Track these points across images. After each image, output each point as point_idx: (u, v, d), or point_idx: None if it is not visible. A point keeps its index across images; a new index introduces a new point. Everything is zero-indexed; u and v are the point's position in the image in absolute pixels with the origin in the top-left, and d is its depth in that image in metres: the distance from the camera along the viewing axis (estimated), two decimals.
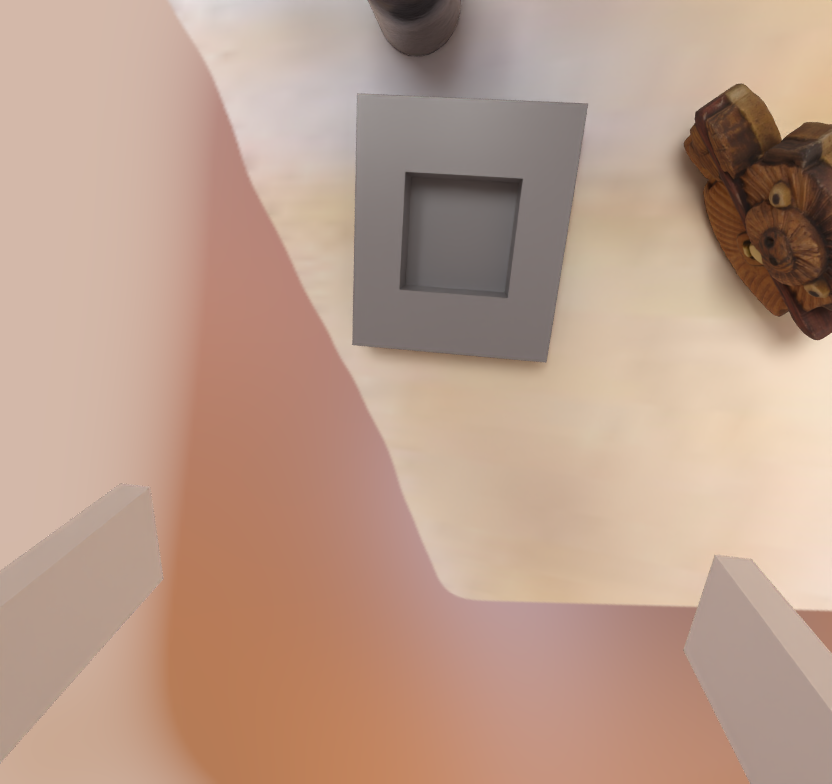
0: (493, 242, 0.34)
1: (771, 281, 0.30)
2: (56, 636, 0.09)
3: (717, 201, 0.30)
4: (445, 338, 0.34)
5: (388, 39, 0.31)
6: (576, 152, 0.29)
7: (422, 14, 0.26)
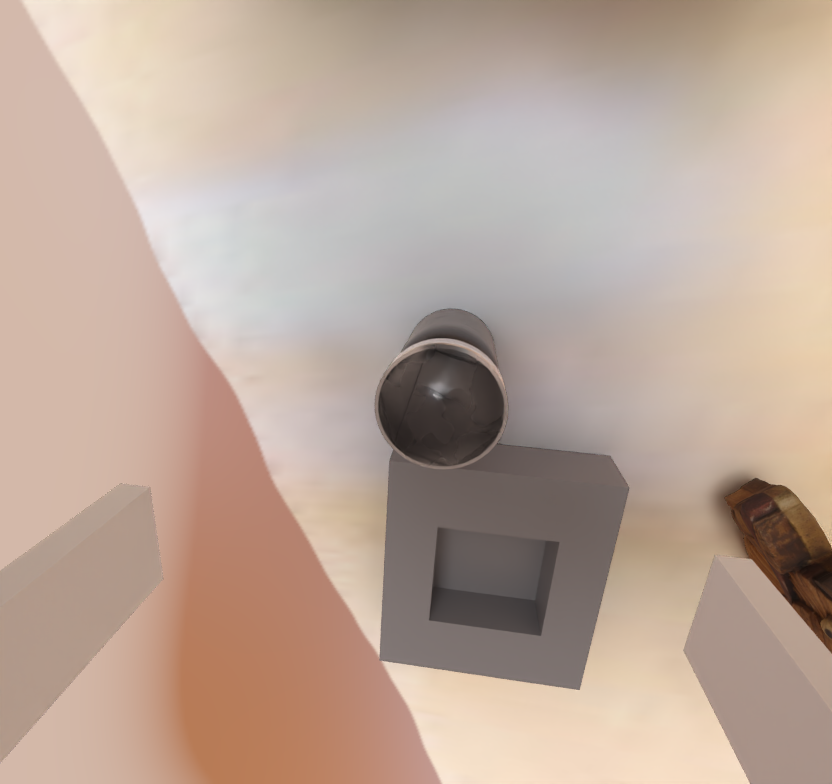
0: (524, 559, 0.33)
1: None
2: (56, 636, 0.09)
3: (759, 560, 0.29)
4: (476, 662, 0.33)
5: None
6: (616, 525, 0.28)
7: None
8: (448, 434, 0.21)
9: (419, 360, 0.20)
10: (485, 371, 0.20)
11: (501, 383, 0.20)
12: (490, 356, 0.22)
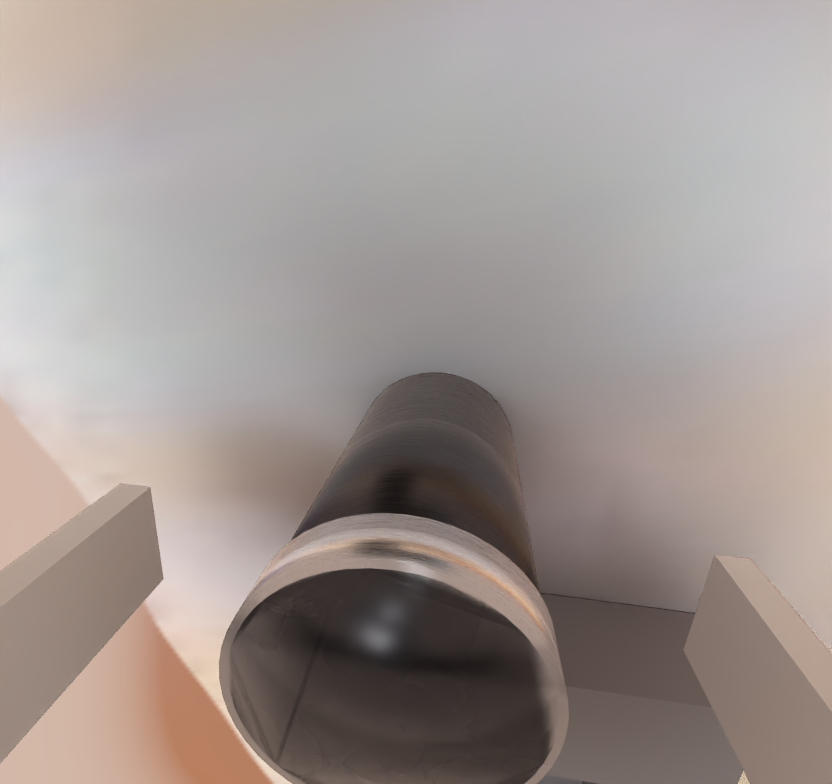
0: None
1: None
2: (56, 636, 0.09)
3: None
4: None
5: None
6: (735, 771, 0.15)
7: None
8: (409, 757, 0.08)
9: (323, 594, 0.07)
10: (508, 631, 0.07)
11: (551, 659, 0.07)
12: (513, 524, 0.10)
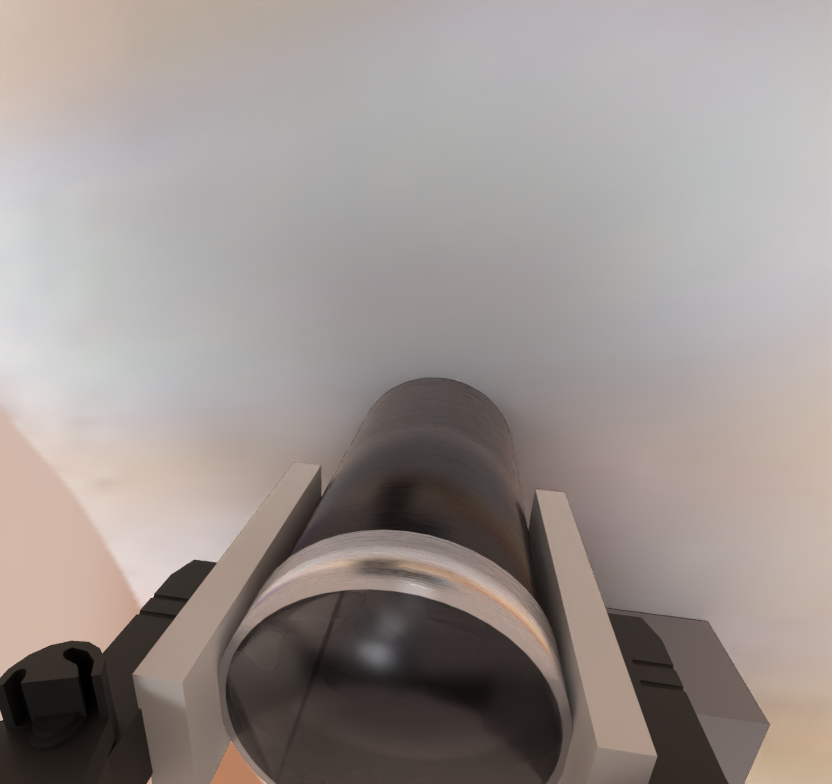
0: None
1: None
2: None
3: None
4: None
5: None
6: (737, 780, 0.15)
7: None
8: (411, 776, 0.08)
9: (323, 615, 0.07)
10: (511, 651, 0.07)
11: (555, 680, 0.07)
12: (514, 536, 0.10)
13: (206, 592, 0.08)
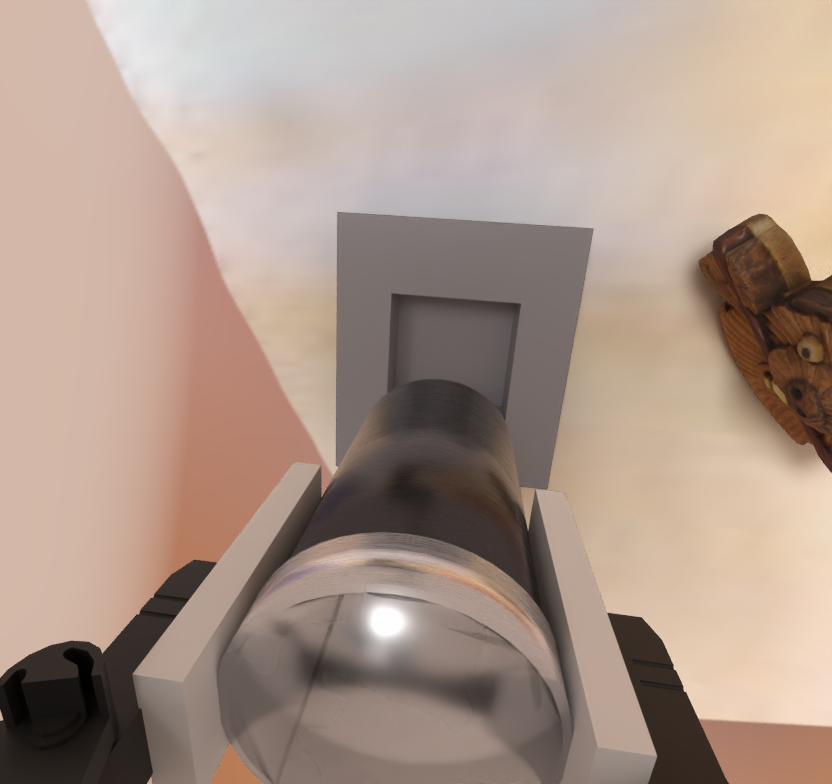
0: (489, 355, 0.31)
1: (795, 415, 0.27)
2: None
3: (736, 326, 0.27)
4: None
5: None
6: (580, 278, 0.26)
7: None
8: (411, 779, 0.08)
9: (322, 617, 0.07)
10: (510, 654, 0.07)
11: (555, 683, 0.07)
12: (514, 538, 0.10)
13: (206, 592, 0.08)
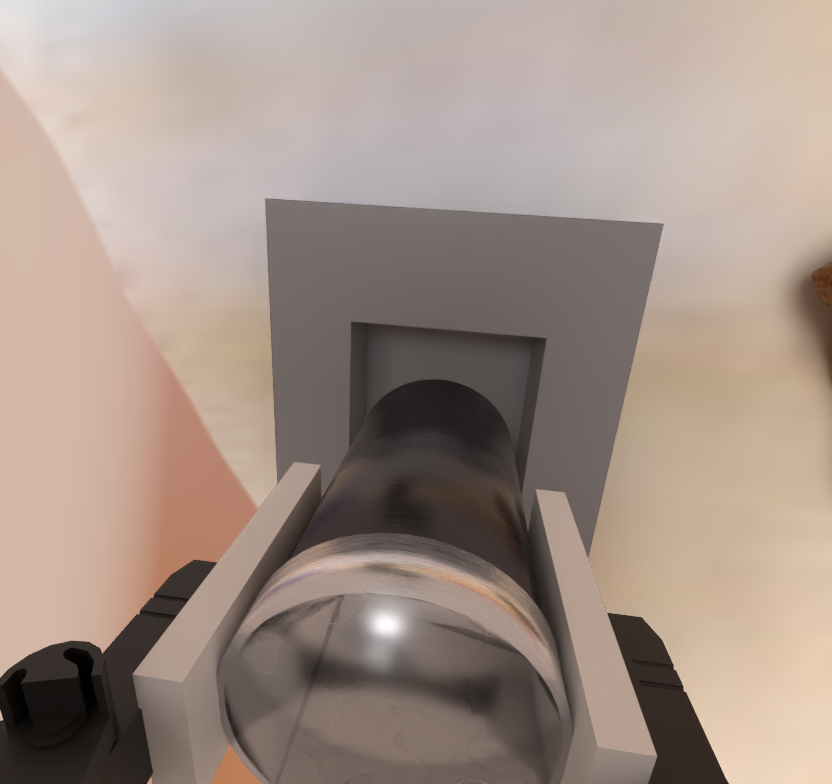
0: (496, 404, 0.22)
1: None
2: None
3: None
4: None
5: None
6: (639, 300, 0.17)
7: None
8: (411, 780, 0.08)
9: (322, 619, 0.07)
10: (511, 656, 0.07)
11: (555, 684, 0.07)
12: (514, 539, 0.10)
13: (206, 592, 0.08)
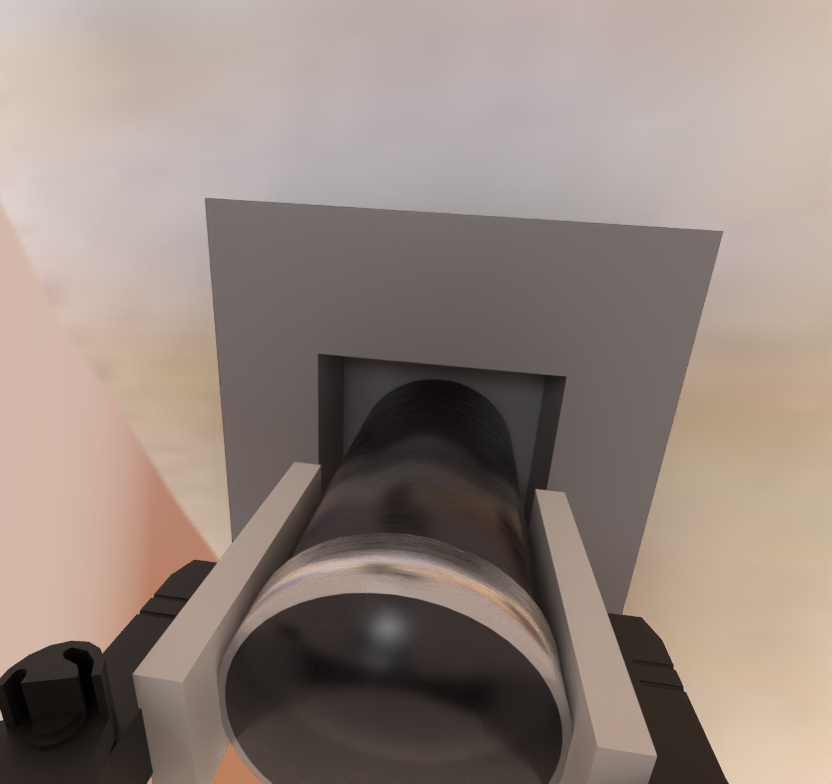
0: None
1: None
2: None
3: None
4: None
5: None
6: (688, 330, 0.13)
7: None
8: (411, 779, 0.08)
9: (322, 618, 0.07)
10: (511, 654, 0.07)
11: (555, 683, 0.07)
12: (514, 538, 0.10)
13: (206, 592, 0.08)
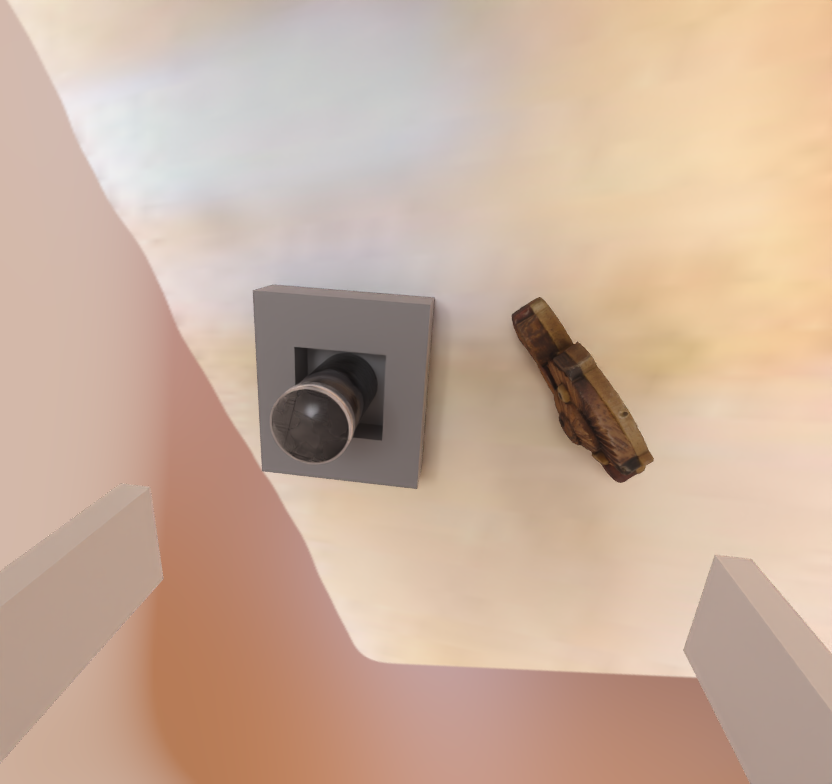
0: None
1: None
2: (56, 636, 0.09)
3: (542, 371, 0.38)
4: (336, 468, 0.41)
5: None
6: (425, 338, 0.37)
7: None
8: (316, 442, 0.33)
9: (294, 396, 0.32)
10: (334, 403, 0.32)
11: (344, 410, 0.32)
12: (349, 391, 0.35)
13: None
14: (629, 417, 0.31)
